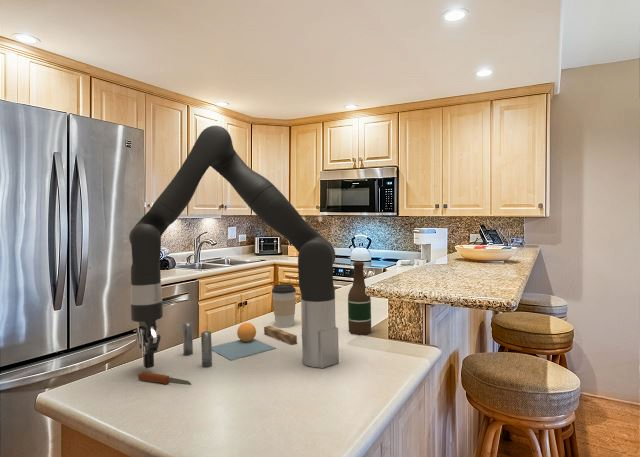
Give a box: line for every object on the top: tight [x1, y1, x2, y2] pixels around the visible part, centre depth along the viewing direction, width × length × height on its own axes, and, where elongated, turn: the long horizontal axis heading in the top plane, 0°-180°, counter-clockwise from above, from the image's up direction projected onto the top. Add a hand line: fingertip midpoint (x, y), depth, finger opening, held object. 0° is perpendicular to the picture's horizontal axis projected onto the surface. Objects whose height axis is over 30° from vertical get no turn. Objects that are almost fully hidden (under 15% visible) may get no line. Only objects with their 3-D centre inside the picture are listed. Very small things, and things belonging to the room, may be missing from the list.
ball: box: [236, 322, 257, 342], centre depth 127 cm, size 6×6×6 cm
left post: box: [182, 321, 194, 356], centre depth 116 cm, size 3×3×9 cm
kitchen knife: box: [137, 371, 192, 386], centre depth 95 cm, size 16×1×2 cm, turn 69°
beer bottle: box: [347, 261, 372, 336], centre depth 134 cm, size 8×8×24 cm
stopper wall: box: [263, 325, 298, 346], centre depth 129 cm, size 16×2×2 cm, turn 40°
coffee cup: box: [271, 283, 297, 328], centre depth 146 cm, size 9×9×15 cm
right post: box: [200, 330, 213, 368], centre depth 106 cm, size 3×3×9 cm
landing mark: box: [212, 338, 277, 361], centre depth 120 cm, size 15×15×1 cm
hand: (148, 367), depth 102 cm, fingers closed
